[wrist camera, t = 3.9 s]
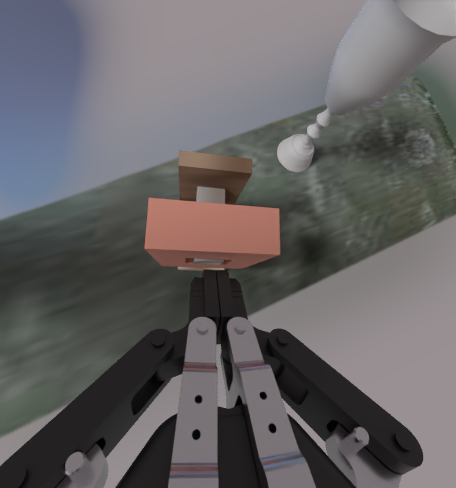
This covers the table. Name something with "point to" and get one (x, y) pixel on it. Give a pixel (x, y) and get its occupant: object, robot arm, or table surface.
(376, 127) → the table surface
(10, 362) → the table surface
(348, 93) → the chalice
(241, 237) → the pink block with hole
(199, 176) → the pipe stand
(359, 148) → the table surface
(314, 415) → the robot arm
